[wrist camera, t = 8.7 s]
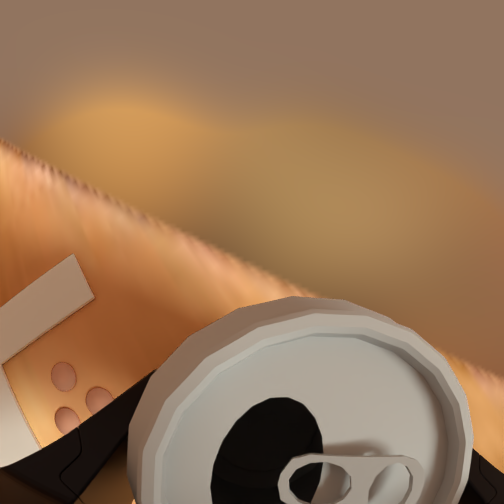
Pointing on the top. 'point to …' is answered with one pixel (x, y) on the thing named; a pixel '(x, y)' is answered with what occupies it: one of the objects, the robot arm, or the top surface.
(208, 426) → the can
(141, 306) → the top surface
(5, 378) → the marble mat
